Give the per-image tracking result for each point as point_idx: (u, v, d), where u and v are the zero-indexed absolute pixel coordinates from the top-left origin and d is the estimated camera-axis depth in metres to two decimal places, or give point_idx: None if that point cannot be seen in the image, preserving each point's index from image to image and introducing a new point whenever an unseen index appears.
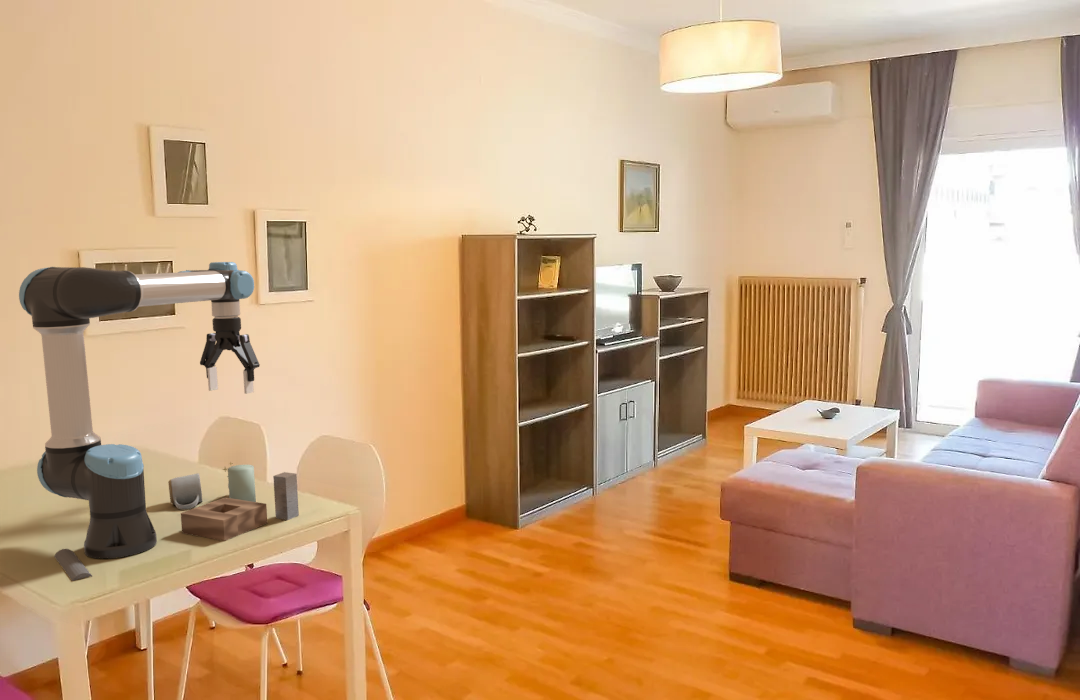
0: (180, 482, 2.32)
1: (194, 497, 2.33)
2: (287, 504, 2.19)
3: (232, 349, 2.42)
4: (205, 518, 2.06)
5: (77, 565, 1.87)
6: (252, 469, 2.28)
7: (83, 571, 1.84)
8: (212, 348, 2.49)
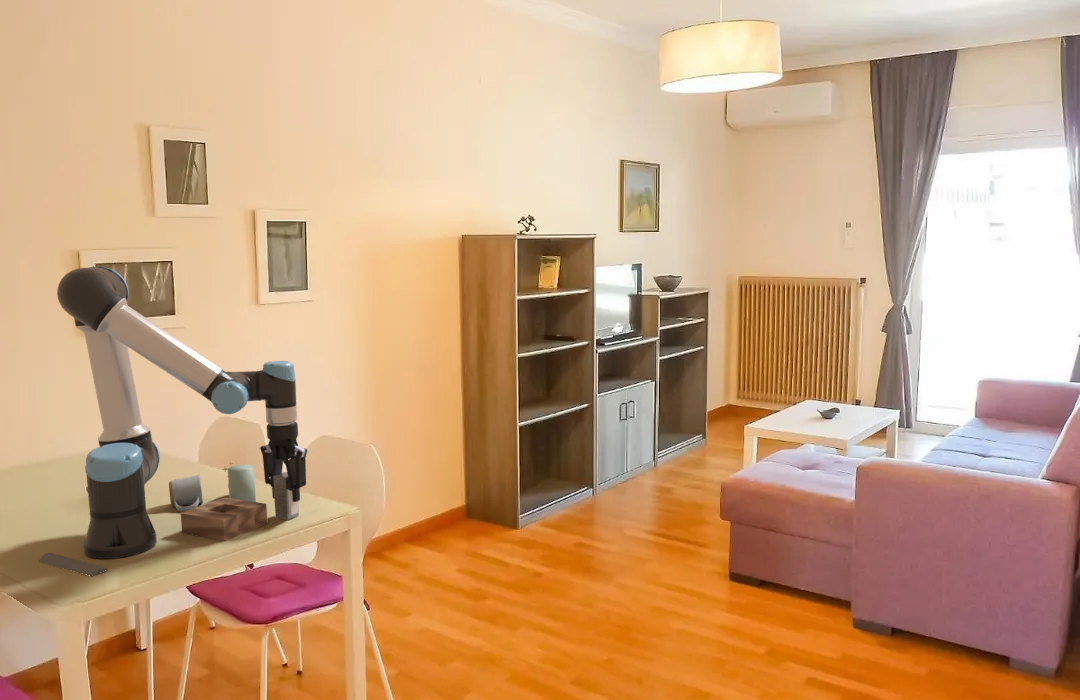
0: (180, 483, 2.30)
1: (194, 499, 2.31)
2: (287, 504, 2.19)
3: (284, 461, 2.18)
4: (205, 518, 2.06)
5: (83, 563, 1.88)
6: (252, 469, 2.28)
7: (98, 566, 1.86)
8: (272, 461, 2.23)
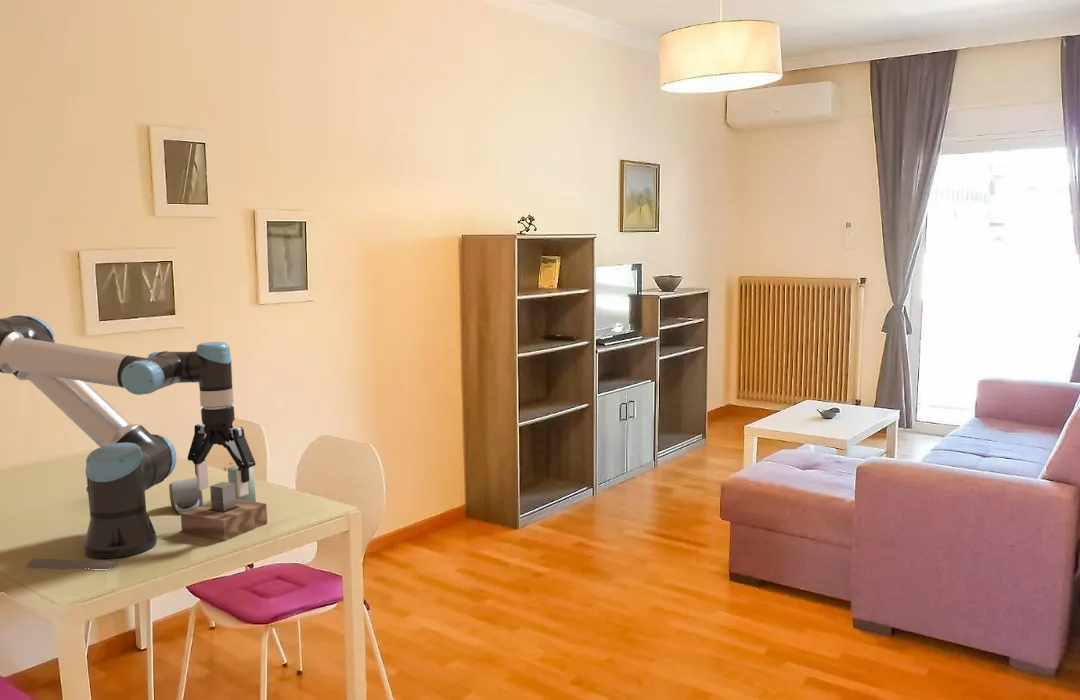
0: (180, 485, 2.29)
1: (195, 501, 2.29)
2: None
3: (224, 445, 2.08)
4: (205, 518, 2.06)
5: (88, 561, 1.90)
6: (252, 469, 2.28)
7: (109, 561, 1.89)
8: (201, 441, 2.14)
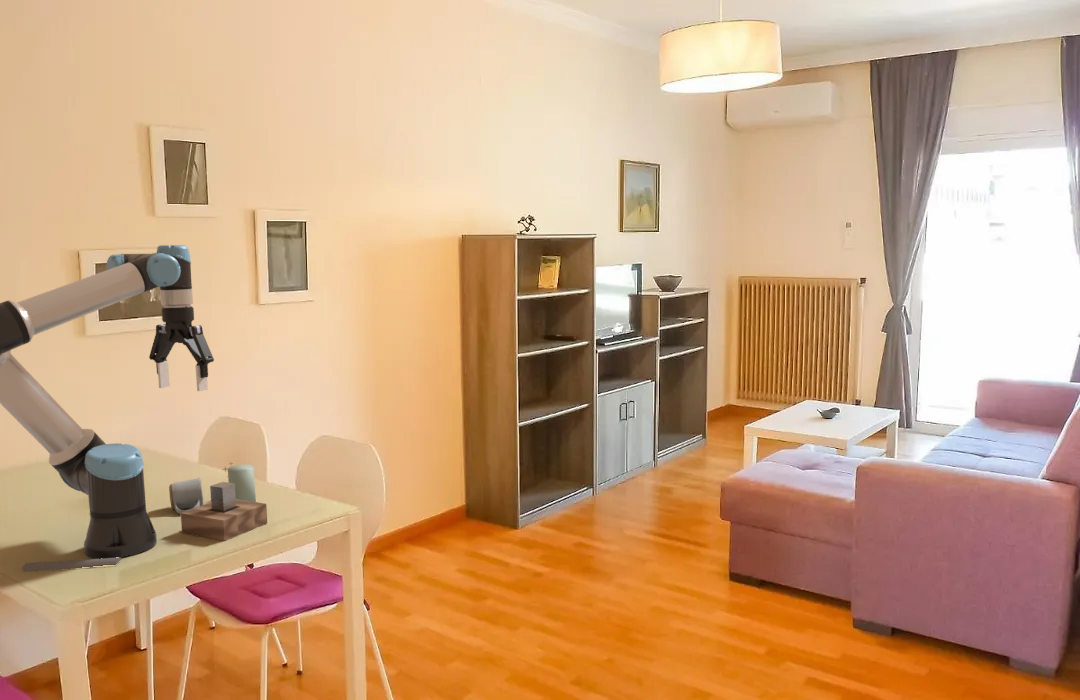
0: (181, 486, 2.28)
1: (195, 502, 2.28)
2: None
3: (183, 342, 2.18)
4: (205, 518, 2.06)
5: (90, 559, 1.90)
6: (252, 469, 2.28)
7: None
8: (163, 341, 2.25)
